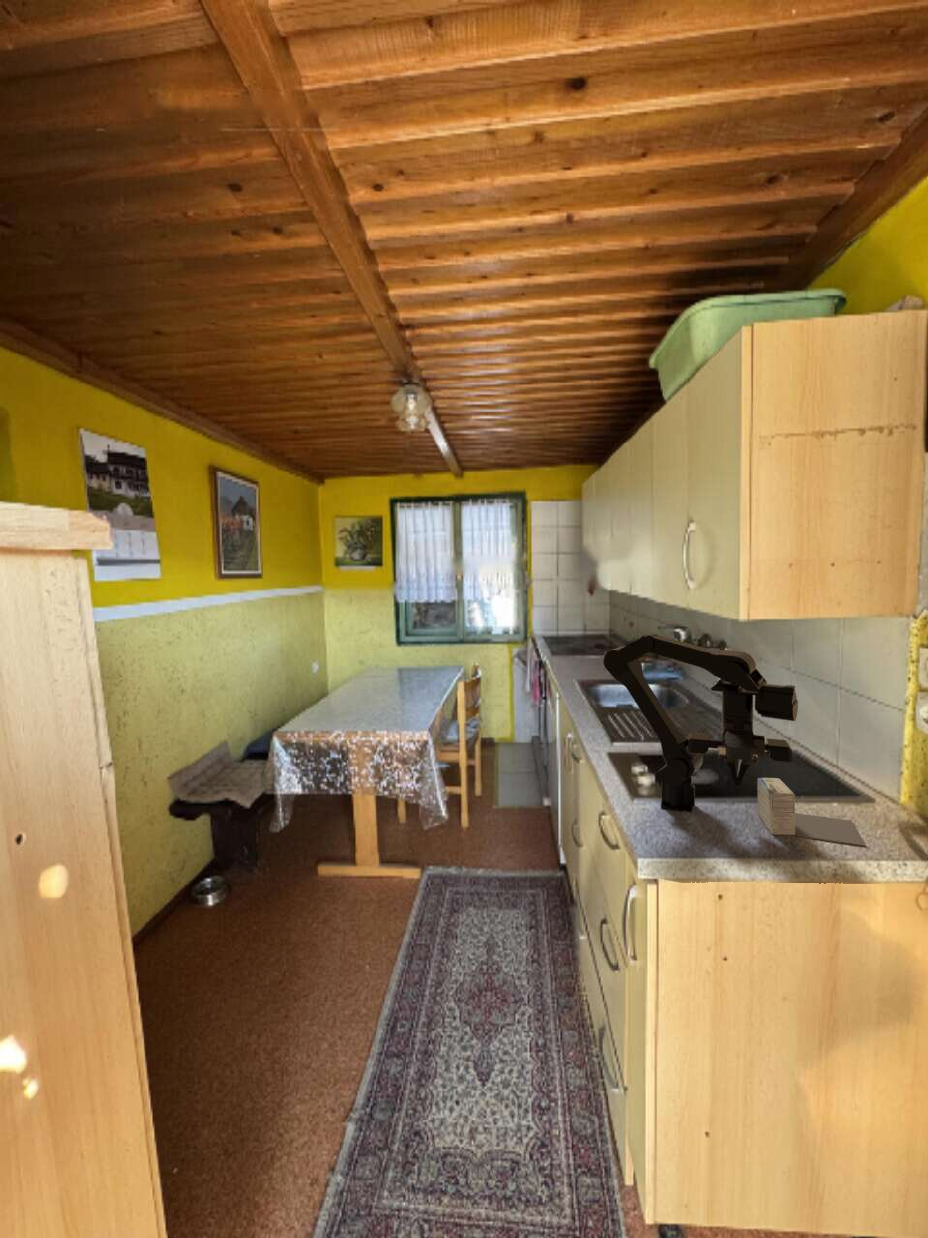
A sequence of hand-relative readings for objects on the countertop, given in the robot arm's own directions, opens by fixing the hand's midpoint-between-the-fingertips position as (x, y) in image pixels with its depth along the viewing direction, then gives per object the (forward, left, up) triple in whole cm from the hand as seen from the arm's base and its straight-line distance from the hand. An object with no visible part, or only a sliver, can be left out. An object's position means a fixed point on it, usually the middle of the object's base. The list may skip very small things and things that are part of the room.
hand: (737, 785), depth 106 cm
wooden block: (+7, 0, -8) cm, 10 cm away
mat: (+16, +1, -8) cm, 17 cm away
